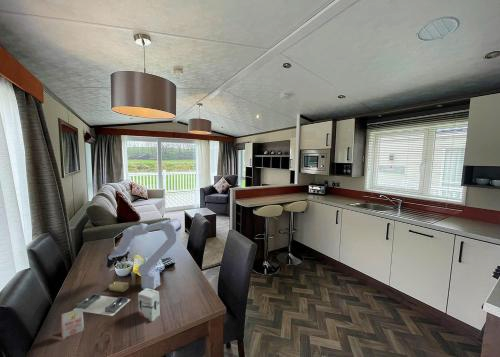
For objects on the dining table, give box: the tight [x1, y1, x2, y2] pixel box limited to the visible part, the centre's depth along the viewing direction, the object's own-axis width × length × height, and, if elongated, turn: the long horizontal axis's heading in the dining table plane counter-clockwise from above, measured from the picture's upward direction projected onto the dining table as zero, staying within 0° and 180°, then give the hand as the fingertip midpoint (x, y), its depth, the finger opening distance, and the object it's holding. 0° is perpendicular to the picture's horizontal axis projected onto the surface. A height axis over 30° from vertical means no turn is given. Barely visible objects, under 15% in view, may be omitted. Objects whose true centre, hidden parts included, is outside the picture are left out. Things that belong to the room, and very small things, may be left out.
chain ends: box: [76, 293, 129, 314], centre depth 107 cm, size 21×9×2 cm, turn 81°
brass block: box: [108, 280, 129, 292], centre depth 120 cm, size 9×4×4 cm, turn 81°
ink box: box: [137, 288, 161, 322], centre depth 100 cm, size 8×5×12 cm, turn 69°
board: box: [72, 295, 132, 317], centre depth 107 cm, size 22×12×1 cm, turn 81°
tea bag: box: [60, 308, 85, 341], centre depth 90 cm, size 4×7×10 cm, turn 124°
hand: (113, 263), depth 125 cm, fingers open, 7 cm apart
